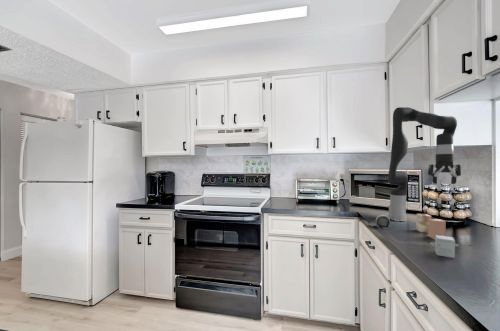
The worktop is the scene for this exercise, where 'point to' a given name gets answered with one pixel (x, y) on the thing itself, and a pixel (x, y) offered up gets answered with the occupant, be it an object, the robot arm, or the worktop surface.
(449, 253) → the product box
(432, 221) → the key two
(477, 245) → the worktop surface
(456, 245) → the keypad board
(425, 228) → the key one
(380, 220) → the ceramic mug
